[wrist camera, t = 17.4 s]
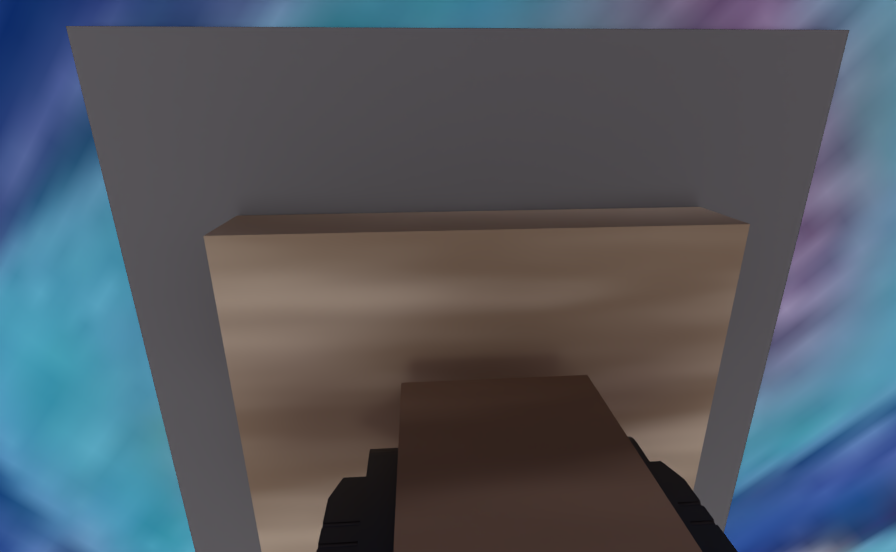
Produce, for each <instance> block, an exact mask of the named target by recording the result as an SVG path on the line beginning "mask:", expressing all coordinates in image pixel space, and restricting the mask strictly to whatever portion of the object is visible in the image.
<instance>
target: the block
mask: <svg viewBox="0 0 896 552" xmlns="http://www.w3.org/2000/svg"><path fill="white" fill-rule="evenodd" d="M393 552H702V550H701V549H700V547H699V546H698V544H697V543H696V541H695V540H694V538H693V537H692V535H691V533H690V532H689V530H688V529H687V527H686V526H685V524H684V523H683V521H682V520H681V518H680V517H679V515H678V513H677V512H676V510H675V509H674V507H673V506H672V504H671V503H670V501H669V500H668V498H667V497H666V495H665V493H664V492H663V490H662V489H661V487H660V486H659V484H658V483H657V481H656V480H655V478H654V477H653V475H652V473H651V472H650V470H649V469H648V467H647V466H646V464H645V463H644V461H643V460H642V458H641V457H640V455H639V454H638V452H637V450H636V449H635V447H634V446H633V444H632V443H631V441H630V440H629V438H628V437H627V435H626V434H625V432H624V430H623V429H622V427H621V426H620V424H619V423H618V421H617V420H616V418H615V417H614V415H613V414H612V412H611V410H610V409H609V407H608V406H607V404H606V403H605V401H604V400H603V398H602V397H601V395H600V394H599V392H598V390H597V389H596V387H595V386H594V384H593V383H592V381H591V380H590V378H589V377H588V375H572V376H548V377H524V378H501V379H477V380H453V381H429V382H405V383H401V400H400V422H399V443H398V465H397V486H396V508H395V529H394V551H393Z"/></svg>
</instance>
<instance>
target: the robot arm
mask: <svg viewBox="0 0 896 552" xmlns="http://www.w3.org/2000/svg"><path fill="white" fill-rule="evenodd" d="M628 438H629V440H630V441H631V443H632V444H633V446H634V447H635V449H636V450H637V452H638V454H639V455H640V457H641V458H642V460H643V461H644V463H645V464H646V466H647V467H648V469H649V470H650V472H651V473H652V475H653V477H654V478H655V480H656V481H657V483H658V484H659V486H660V487H661V489H662V490H663V492H664V493H665V495H666V497H667V498H668V500H669V501H670V503H671V504H672V506H673V507H674V509H675V510H676V512H677V513H678V515H679V517H680V518H681V520H682V521H683V523H684V524H685V526H686V527H687V529H688V530H689V532H690V533H691V535H692V537H693V538H694V540H695V541H696V543H697V544H698V546H699V547H700V549H701V550H702V552H737V550H736V549H735V548H734V546H733V545H732V544H731V542H730V541H729V539H728V538H727V537H726V535H725V534H724V533H723V531H722V530H721V529H720V527H719V526H718V525H715V523H714V519H713V518H712V516H711V515H710V513H709V512H708V511H707V509H706V508H705V507H704V506H702V505H701V503H700V500H699V498H698V497H697V496H696V494H695V493H694V492H693V490H692V489H691V487H690V486H689V485H688V483H687V482H686V481H685V479H684V478H682V477H681V476H680V475H679V474H677V473H676V472H675V471H673V470H672V469H671V468H669V467H668V466H667V465H666V464H664V463H663V462H662V461H651V462H650V461H649V460H648V458H647V457H646V455H645V454H644V452H643V451H642V449H641V448H640V446H639V445H638V443H637V442H636V441H635V439H634V438H632V437H629V436H628ZM397 465H398V448H381V449H370V452H369V458H368V466H367V473H366V476H364V477H345V478H343V479H342V480H341V481H340V483H339V484H338V485H337V487H336V488H335V490H334V491H333V492H332V494H331V495H330V497H329V498H328V501H327V505H326V510H325V514H324V519H323V527H322V528H321V533H320V537H319V542H318V549H317V551H316V552H393V551H394V529H395V508H396V486H397Z"/></svg>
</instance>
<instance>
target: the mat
mask: <svg viewBox="0 0 896 552" xmlns="http://www.w3.org/2000/svg"><path fill="white" fill-rule="evenodd" d="M66 28H67V32H68V36H69V40H70V45H71V49H72V53H73V57H74V61H75V65H76V69H77V73H78V77H79V81H80V85H81V89H82V93H83V97H84V101H85V105H86V109H87V114H88V118H89V122H90V126H91V130H92V134H93V138H94V142H95V146H96V150H97V154H98V158H99V162H100V166H101V170H102V174H103V178H104V183H105V187H106V191H107V195H108V199H109V203H110V207H111V211H112V215H113V219H114V223H115V227H116V231H117V235H118V239H119V243H120V247H121V252H122V256H123V260H124V264H125V268H126V272H127V276H128V280H129V284H130V288H131V292H132V296H133V300H134V304H135V308H136V312H137V316H138V321H139V325H140V329H141V333H142V337H143V341H144V345H145V349H146V353H147V357H148V361H149V365H150V369H151V373H152V377H153V381H154V385H155V390H156V394H157V398H158V402H159V406H160V410H161V414H162V418H163V422H164V426H165V430H166V434H167V438H168V442H169V446H170V450H171V454H172V459H173V463H174V467H175V471H176V475H177V479H178V483H179V487H180V491H181V495H182V499H183V503H184V507H185V511H186V515H187V519H188V523H189V528H190V532H191V536H192V540H193V544H194V548H195V552H261V546H260V541H259V536H258V530H257V525H256V519H255V514H254V508H253V503H252V498H251V492H250V487H249V481H248V476H247V470H246V465H245V459H244V454H243V449H242V443H241V438H240V432H239V427H238V421H237V416H236V410H235V405H234V400H233V394H232V389H231V383H230V378H229V372H228V367H227V362H226V356H225V351H224V345H223V340H222V334H221V329H220V323H219V318H218V313H217V307H216V302H215V296H214V291H213V285H212V280H211V274H210V269H209V264H208V258H207V253H206V247H205V242H204V235H206V234H207V233H209V232H211V231H212V230H214V229H216V228H217V227H219V226H221V225H222V224H224V223H226V222H227V221H229V220H230V219H232V218H234V217H235V216H243V215H295V214H347V213H400V212H452V211H504V210H557V209H609V208H661V207H702V208H705V209H708V210H711V211H714V212H716V213H719V214H722V215H725V216H728V217H731V218H734V219H737V220H740V221H743V222H745V223H748V224H750V227H749V232H748V236H747V241H746V246H745V250H744V255H743V260H742V264H741V269H740V274H739V279H738V283H737V288H736V293H735V297H734V302H733V307H732V311H731V316H730V321H729V325H728V330H727V335H726V339H725V344H724V349H723V354H722V358H721V363H720V368H719V372H718V377H717V382H716V386H715V391H714V396H713V400H712V405H711V410H710V414H709V419H708V424H707V429H706V433H705V438H704V443H703V447H702V452H701V457H700V461H699V466H698V471H697V475H696V480H695V485H694V489H693V492H694V493H695V494H696V496H697V497H698V498H699V500H700V503H701V505H702V506H704V507H705V508H706V509H707V511H708V512H709V513H710V515H711V516H712V518H713V519H714V523H715V525H718V526H719V527H720V529H721V530H722V531H723V533H724V529H725V525H726V521H727V517H728V513H729V509H730V505H731V501H732V497H733V493H734V489H735V485H736V481H737V477H738V473H739V469H740V465H741V461H742V457H743V453H744V449H745V445H746V441H747V437H748V433H749V429H750V425H751V421H752V417H753V413H754V409H755V405H756V401H757V397H758V393H759V389H760V385H761V381H762V377H763V373H764V369H765V365H766V361H767V357H768V353H769V349H770V345H771V341H772V337H773V333H774V329H775V325H776V321H777V317H778V313H779V309H780V305H781V301H782V297H783V293H784V289H785V285H786V281H787V277H788V273H789V269H790V265H791V261H792V257H793V253H794V249H795V245H796V241H797V237H798V233H799V229H800V225H801V221H802V217H803V213H804V209H805V205H806V201H807V197H808V193H809V189H810V185H811V181H812V177H813V173H814V169H815V165H816V161H817V157H818V153H819V149H820V145H821V141H822V137H823V133H824V129H825V125H826V121H827V117H828V113H829V109H830V105H831V101H832V97H833V93H834V89H835V85H836V81H837V77H838V73H839V69H840V65H841V61H842V57H843V53H844V49H845V45H846V41H847V37H848V33H849V30H725V29H526V28H327V27H128V26H66Z"/></svg>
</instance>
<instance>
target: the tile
mask: <svg viewBox="0 0 896 552" xmlns="http://www.w3.org/2000/svg"><path fill="white" fill-rule="evenodd" d="M749 227H750V224H748V223H745V222H743V221H740V220H737V219H734V218H731V217H728V216H725V215H722V214H719V213H716V212H714V211H711V210H708V209H705V208H702V207H661V208H609V209H557V210H504V211H452V212H400V213H347V214H295V215H243V216H235V217H234V218H232V219H230V220H229V221H227V222H226V223H224V224H222V225H221V226H219V227H217V228H216V229H214V230H212V231H211V232H209V233H207V234H206V235H204V242H205V247H206V253H207V258H208V264H209V269H210V274H211V280H212V285H213V291H214V296H215V302H216V307H217V313H218V318H219V323H220V329H221V334H222V340H223V345H224V351H225V356H226V362H227V367H228V372H229V378H230V383H231V389H232V394H233V400H234V405H235V410H236V416H237V421H238V427H239V432H240V438H241V443H242V449H243V454H244V459H245V465H246V470H247V476H248V481H249V487H250V492H251V498H252V503H253V508H254V514H255V519H256V525H257V530H258V536H259V541H260V546H261V552H316V551H317V549H318V542H319V537H320V533H321V528H322V527H323V519H324V514H325V510H326V505H327V501H328V498H329V497H330V495H331V494H332V492H333V491H334V490H335V488H336V487H337V485H338V484H339V483H340V481H341V480H342V479H343V478H345V477H364V476H366V473H367V466H368V458H369V452H370V449H381V448H398V443H399V422H400V400H401V383H405V382H429V381H453V380H477V379H501V378H524V377H548V376H572V375H588V377H589V378H590V380H591V381H592V383H593V384H594V386H595V387H596V389H597V390H598V392H599V394H600V395H601V397H602V398H603V400H604V401H605V403H606V404H607V406H608V407H609V409H610V410H611V412H612V414H613V415H614V417H615V418H616V420H617V421H618V423H619V424H620V426H621V427H622V429H623V430H624V432H625V434H626V435H627V437H628V436H629V437H632V438H634V439H635V441H636V442H637V443H638V445H639V446H640V448H641V449H642V451H643V452H644V454H645V455H646V457H647V458H648V460H649V461H650V462H651V461H662V462H663V463H664V464H666V465H667V466H668V467H669V468H671V469H672V470H673V471H675V472H676V473H677V474H679V475H680V476H681V477H682V478H684V479H685V481H686V482H687V483H688V485H689V486H690V487H691V489H692V490H693V489H694V485H695V480H696V475H697V471H698V466H699V461H700V457H701V452H702V447H703V443H704V438H705V433H706V429H707V424H708V419H709V414H710V410H711V405H712V400H713V396H714V391H715V386H716V382H717V377H718V372H719V368H720V363H721V358H722V354H723V349H724V344H725V339H726V335H727V330H728V325H729V321H730V316H731V311H732V307H733V302H734V297H735V293H736V288H737V283H738V279H739V274H740V269H741V264H742V260H743V255H744V250H745V246H746V241H747V236H748V232H749Z"/></svg>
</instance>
